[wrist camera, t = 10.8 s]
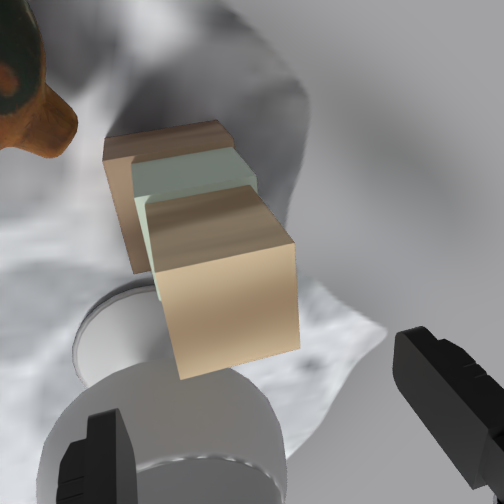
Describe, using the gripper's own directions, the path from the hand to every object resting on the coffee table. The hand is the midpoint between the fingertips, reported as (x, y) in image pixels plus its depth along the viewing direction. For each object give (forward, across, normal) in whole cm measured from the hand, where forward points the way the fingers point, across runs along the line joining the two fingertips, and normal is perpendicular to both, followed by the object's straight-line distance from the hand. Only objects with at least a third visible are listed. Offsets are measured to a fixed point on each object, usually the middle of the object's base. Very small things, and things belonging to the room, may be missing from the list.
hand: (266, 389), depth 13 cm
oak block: (+10, 0, 0) cm, 10 cm away
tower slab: (+20, 0, +1) cm, 20 cm away
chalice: (+20, +4, +14) cm, 25 cm away
